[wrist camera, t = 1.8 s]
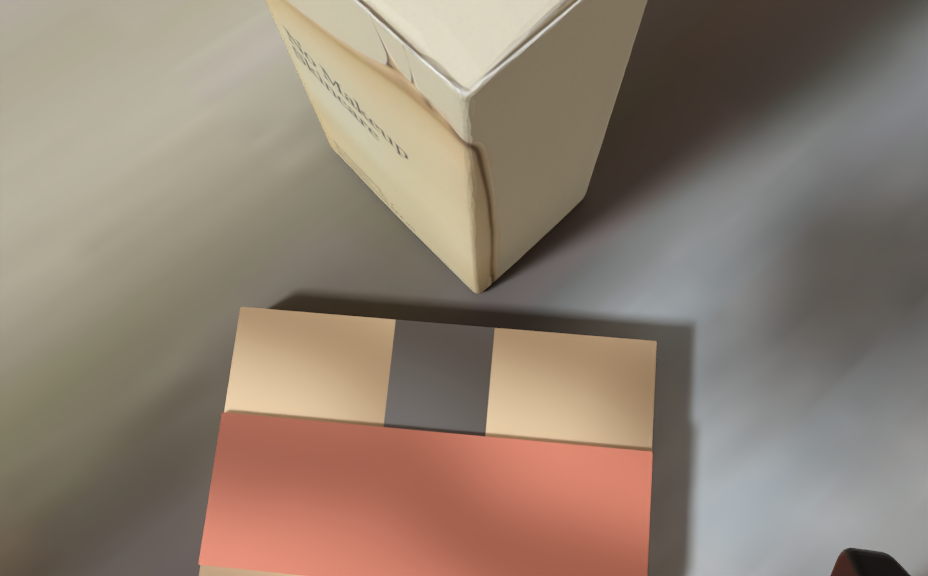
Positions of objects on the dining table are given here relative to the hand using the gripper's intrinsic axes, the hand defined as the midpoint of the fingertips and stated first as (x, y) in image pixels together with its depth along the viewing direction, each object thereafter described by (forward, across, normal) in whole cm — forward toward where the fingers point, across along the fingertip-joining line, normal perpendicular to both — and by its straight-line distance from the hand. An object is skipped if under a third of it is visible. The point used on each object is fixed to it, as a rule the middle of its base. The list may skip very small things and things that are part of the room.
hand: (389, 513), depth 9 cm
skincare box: (+16, +1, +3) cm, 16 cm away
